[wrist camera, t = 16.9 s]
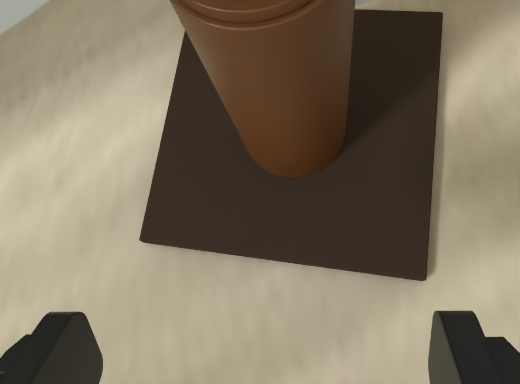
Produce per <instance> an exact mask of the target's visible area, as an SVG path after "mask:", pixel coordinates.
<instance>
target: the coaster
mask: <svg viewBox="0 0 520 384" xmlns="http://www.w3.org/2000/svg"><path fill="white" fill-rule="evenodd" d="M442 19H443V13H442V12H417V11H385V10H354V22H353V36H352V50H351V64H350V78H349V92H348V107H347V121H346V134H345V139H344V142H343V145H342V147H341V149H340V151H339V153H338V154H337V156H336V157H335V158H334V159H333V161H332V162H331V163H329V164H328V165H327V166H326V167H325V168H323V169H321V170H320V171H318V172H316V173H314V174H311V175H308V176H304V177H297V178H287V177H281V176H277V175H274V174H272V173H269V172H267V171H266V170H264V169H263V168H261V167H260V166H259V165H258V164H257V163H256V162H255V161H254V160H253V159H252V157H251V156H250V154H249V152H248V150H247V149H246V147H245V145H244V143H243V141H242V139H241V137H240V135H239V133H238V131H237V129H236V127H235V125H234V123H233V121H232V119H231V118H230V116H229V114H228V112H227V110H226V108H225V106H224V104H223V102H222V100H221V98H220V96H219V94H218V92H217V90H216V89H215V87H214V85H213V83H212V81H211V79H210V77H209V75H208V73H207V71H206V69H205V67H204V65H203V63H202V61H201V60H200V58H199V56H198V54H197V52H196V50H195V48H194V46H193V44H192V42H191V40H190V38H189V36H188V34H187V32H186V31H185V33H184V38H183V42H182V47H181V52H180V56H179V61H178V65H177V70H176V74H175V79H174V84H173V88H172V93H171V97H170V102H169V106H168V111H167V116H166V120H165V125H164V129H163V134H162V138H161V143H160V148H159V152H158V157H157V161H156V166H155V170H154V175H153V180H152V184H151V189H150V193H149V198H148V202H147V207H146V212H145V216H144V221H143V225H142V230H141V234H140V239H139V240H140V241H142V242H144V243H151V244H158V245H165V246H173V247H180V248H187V249H194V250H202V251H209V252H216V253H223V254H231V255H238V256H245V257H252V258H259V259H267V260H274V261H281V262H288V263H296V264H303V265H310V266H317V267H325V268H332V269H339V270H346V271H353V272H361V273H368V274H375V275H382V276H390V277H397V278H404V279H411V280H419V281H424V280H426V275H427V259H428V243H429V227H430V211H431V195H432V179H433V163H434V147H435V131H436V115H437V99H438V83H439V67H440V51H441V35H442Z"/></svg>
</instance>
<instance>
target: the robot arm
mask: <svg viewBox="0 0 520 384" xmlns="http://www.w3.org/2000/svg"><path fill="white" fill-rule="evenodd" d="M428 368H429V378H430V384H520V353H519V352H518V351H517V350H516V349H515V348H514V347H513V346H512V345H511V344H510V343H509V342H508V341H507V340H506V339H505V338H504V337H485V335H484V333H483V331H482V328H481V326H480V324H479V321H478V319H477V317H476V315H475V313H474V312H473V311H435V312H434V314H433V321H432V330H431V340H430V349H429V359H428ZM102 370H103V358H102V354H101V351H100V349H99V347H98V344H97V342H96V339H95V337H94V334H93V332H92V329H91V327H90V324H89V322H88V320H87V317H86V315H85V314H84V313H82V312H49V313H47V314H46V315H45V316H44V317H43V318H42V320H41V321H40V323H39V324H38V325H37V327H36V328H35V330H34V331H33V333H32V334H31V335H25V336H24V337H23V338H21V339H20V340H19V341H18V342H17V343H15V344H14V345H13V346H12V347H11V348H9V349H8V350H7V351H6V352H5V353H4V354H3V356H2V357H1V358H0V384H99V382H100V379H101V375H102Z"/></svg>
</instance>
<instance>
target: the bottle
mask: <svg viewBox="0 0 520 384" xmlns="http://www.w3.org/2000/svg"><path fill="white" fill-rule="evenodd" d="M170 2H171V3H172V5H173V7H174V9H175V11H176V13H177V15H178V17H179V19H180V21H181V23H182V25H183V27H184V29H185V31H186V32H187V34H188V36H189V38H190V40H191V42H192V44H193V46H194V48H195V50H196V52H197V54H198V56H199V58H200V60H201V61H202V63H203V65H204V67H205V69H206V71H207V73H208V75H209V77H210V79H211V81H212V83H213V85H214V87H215V89H216V90H217V92H218V94H219V96H220V98H221V100H222V102H223V104H224V106H225V108H226V110H227V112H228V114H229V116H230V118H231V119H232V121H233V123H234V125H235V127H236V129H237V131H238V133H239V135H240V137H241V139H242V141H243V143H244V145H245V147H246V149H247V150H248V152H249V154H250V156H251V157H252V159H253V160H254V161H255V162H256V163H257V164H258V165H259V166H260V167H261V168H263V169H264V170H266V171H267V172H269V173H272V174H274V175H277V176H281V177H287V178H297V177H304V176H308V175H311V174H314V173H316V172H318V171H320V170H321V169H323V168H325V167H326V166H327V165H328V164H329V163H331V162H332V161H333V159H334V158H335V157H336V156H337V154H338V153H339V151H340V149H341V147H342V145H343V142H344V139H345V134H346V121H347V107H348V92H349V78H350V64H351V50H352V36H353V22H354V8H355V0H170Z"/></svg>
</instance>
